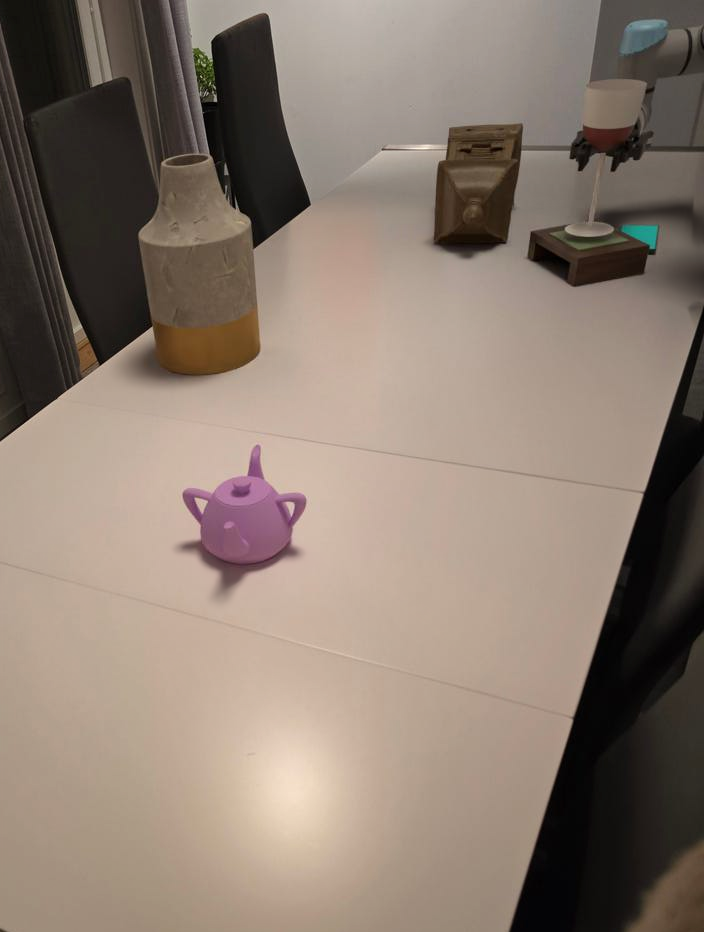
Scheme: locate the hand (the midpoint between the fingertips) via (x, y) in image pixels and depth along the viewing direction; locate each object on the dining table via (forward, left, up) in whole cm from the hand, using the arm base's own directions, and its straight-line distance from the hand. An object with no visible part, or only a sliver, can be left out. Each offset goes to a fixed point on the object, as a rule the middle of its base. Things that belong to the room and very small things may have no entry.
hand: (597, 162), depth 145 cm
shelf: (+4, -3, -19) cm, 20 cm away
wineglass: (+4, -3, -13) cm, 14 cm away
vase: (-4, +73, -19) cm, 75 cm away
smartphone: (+11, -19, -19) cm, 29 cm away
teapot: (-63, +80, -19) cm, 103 cm away
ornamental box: (+33, +6, -19) cm, 39 cm away
